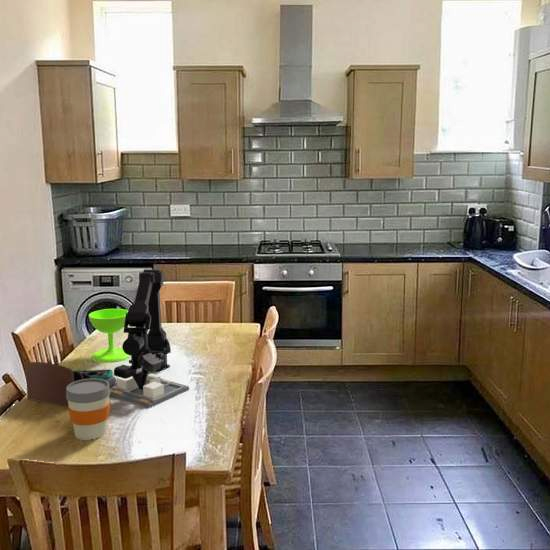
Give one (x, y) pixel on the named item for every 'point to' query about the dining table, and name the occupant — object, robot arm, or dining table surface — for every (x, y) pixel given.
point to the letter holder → (50, 382)
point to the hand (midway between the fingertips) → (141, 389)
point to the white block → (126, 383)
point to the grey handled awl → (111, 381)
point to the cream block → (152, 379)
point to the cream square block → (153, 390)
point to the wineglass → (109, 333)
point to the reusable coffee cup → (88, 407)
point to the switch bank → (139, 398)
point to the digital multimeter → (97, 373)
